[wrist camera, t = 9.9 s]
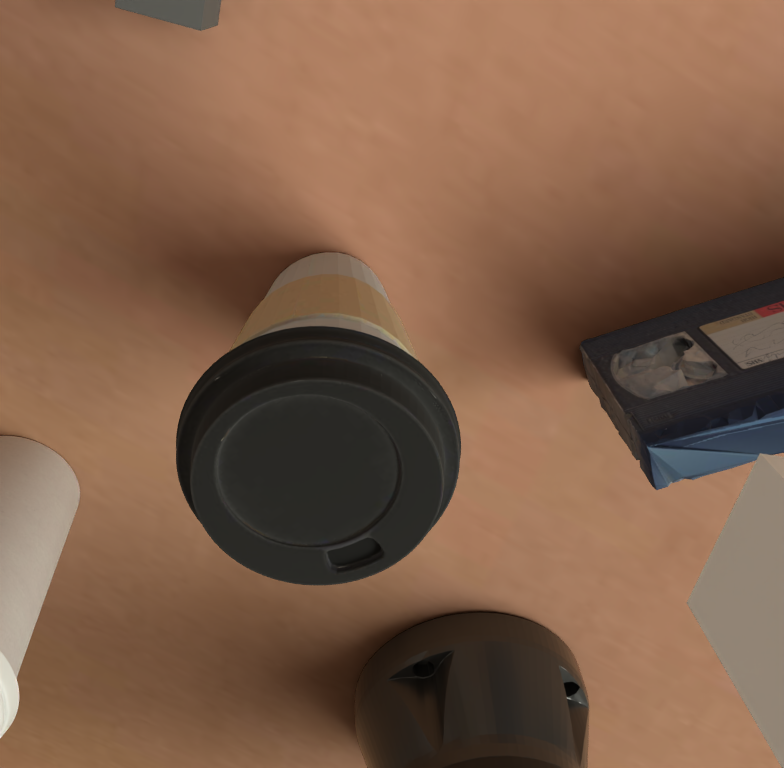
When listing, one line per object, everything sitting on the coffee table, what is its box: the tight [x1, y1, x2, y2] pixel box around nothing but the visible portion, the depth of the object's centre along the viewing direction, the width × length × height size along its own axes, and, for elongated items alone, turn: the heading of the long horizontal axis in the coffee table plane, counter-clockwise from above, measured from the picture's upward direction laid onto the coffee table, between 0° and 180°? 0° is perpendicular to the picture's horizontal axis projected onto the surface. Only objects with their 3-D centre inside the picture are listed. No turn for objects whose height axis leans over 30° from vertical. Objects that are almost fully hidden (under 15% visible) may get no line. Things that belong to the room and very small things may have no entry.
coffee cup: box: [176, 252, 461, 585], centre depth 30 cm, size 10×9×15 cm
